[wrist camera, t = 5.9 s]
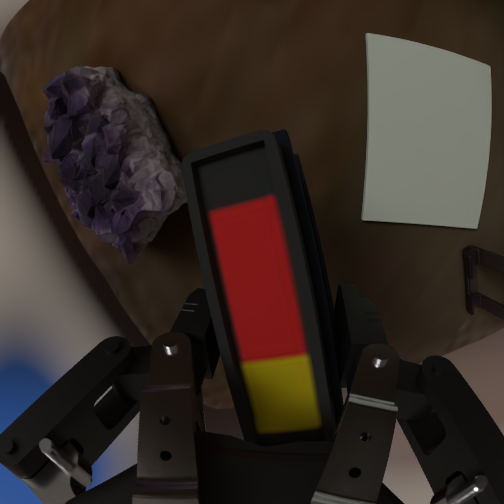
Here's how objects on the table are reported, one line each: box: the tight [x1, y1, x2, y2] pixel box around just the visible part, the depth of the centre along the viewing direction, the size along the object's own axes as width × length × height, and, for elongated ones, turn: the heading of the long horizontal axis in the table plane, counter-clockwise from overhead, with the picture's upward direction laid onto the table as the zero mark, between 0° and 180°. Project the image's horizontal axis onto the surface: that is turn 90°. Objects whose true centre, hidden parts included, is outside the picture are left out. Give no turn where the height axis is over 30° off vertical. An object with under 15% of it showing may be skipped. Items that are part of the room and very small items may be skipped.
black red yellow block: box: [181, 130, 344, 446], centre depth 16 cm, size 4×13×15 cm, turn 17°
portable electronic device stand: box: [463, 246, 504, 319], centre depth 24 cm, size 9×8×8 cm
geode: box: [42, 65, 187, 264], centre depth 24 cm, size 20×12×10 cm, turn 29°
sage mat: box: [361, 33, 492, 229], centre depth 22 cm, size 18×14×1 cm
